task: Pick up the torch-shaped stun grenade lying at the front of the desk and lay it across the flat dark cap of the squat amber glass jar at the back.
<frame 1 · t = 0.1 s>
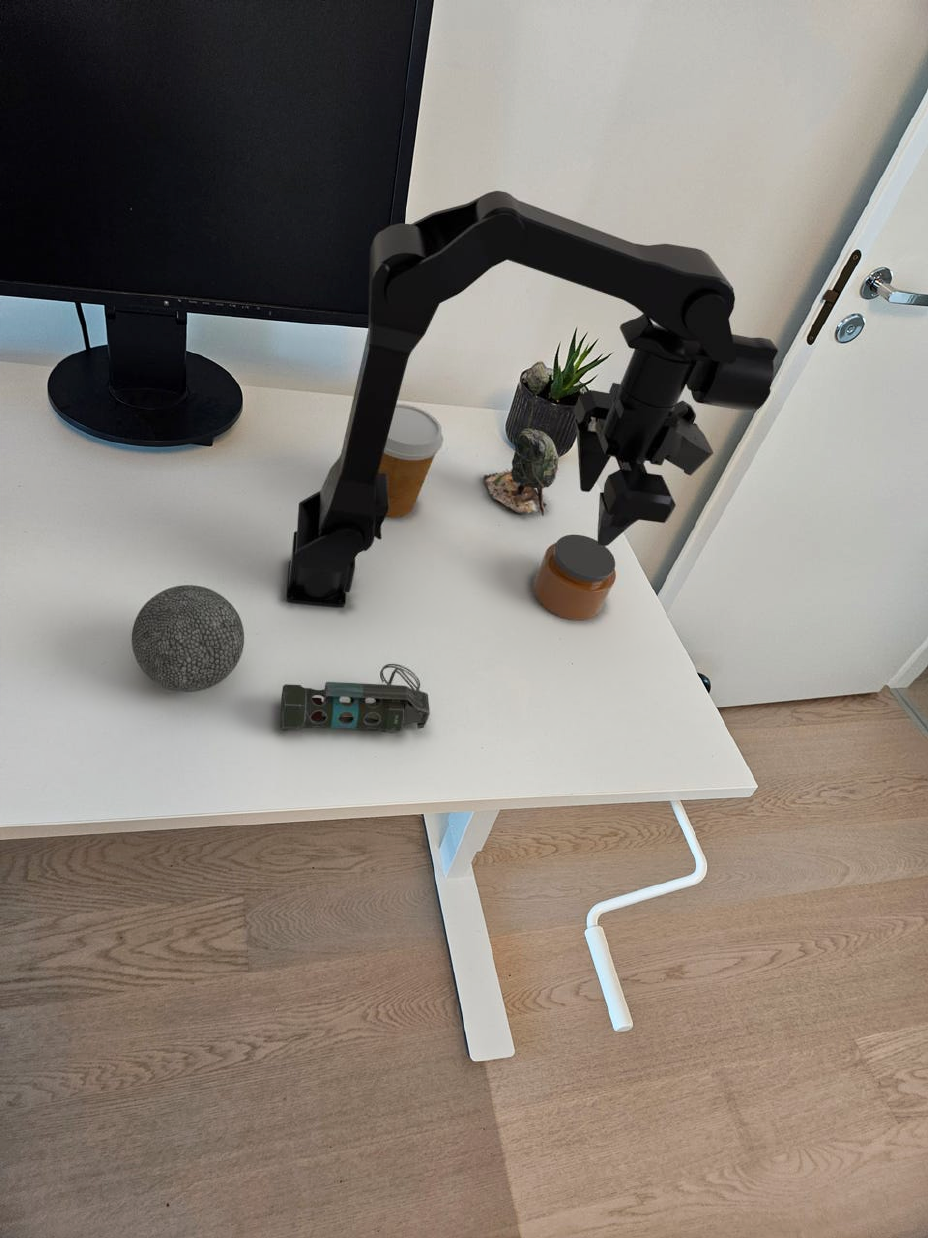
hand: (593, 516, 88), 15 cm above the table, tool pointing down, fingers open, 9 cm apart
disposable coffee cup: (389, 503, 106), on the table
stun grenade: (352, 716, 81), on the table
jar: (567, 594, 101), on the table
decorative ball: (189, 673, 80), on the table
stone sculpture: (516, 501, 113), on the table
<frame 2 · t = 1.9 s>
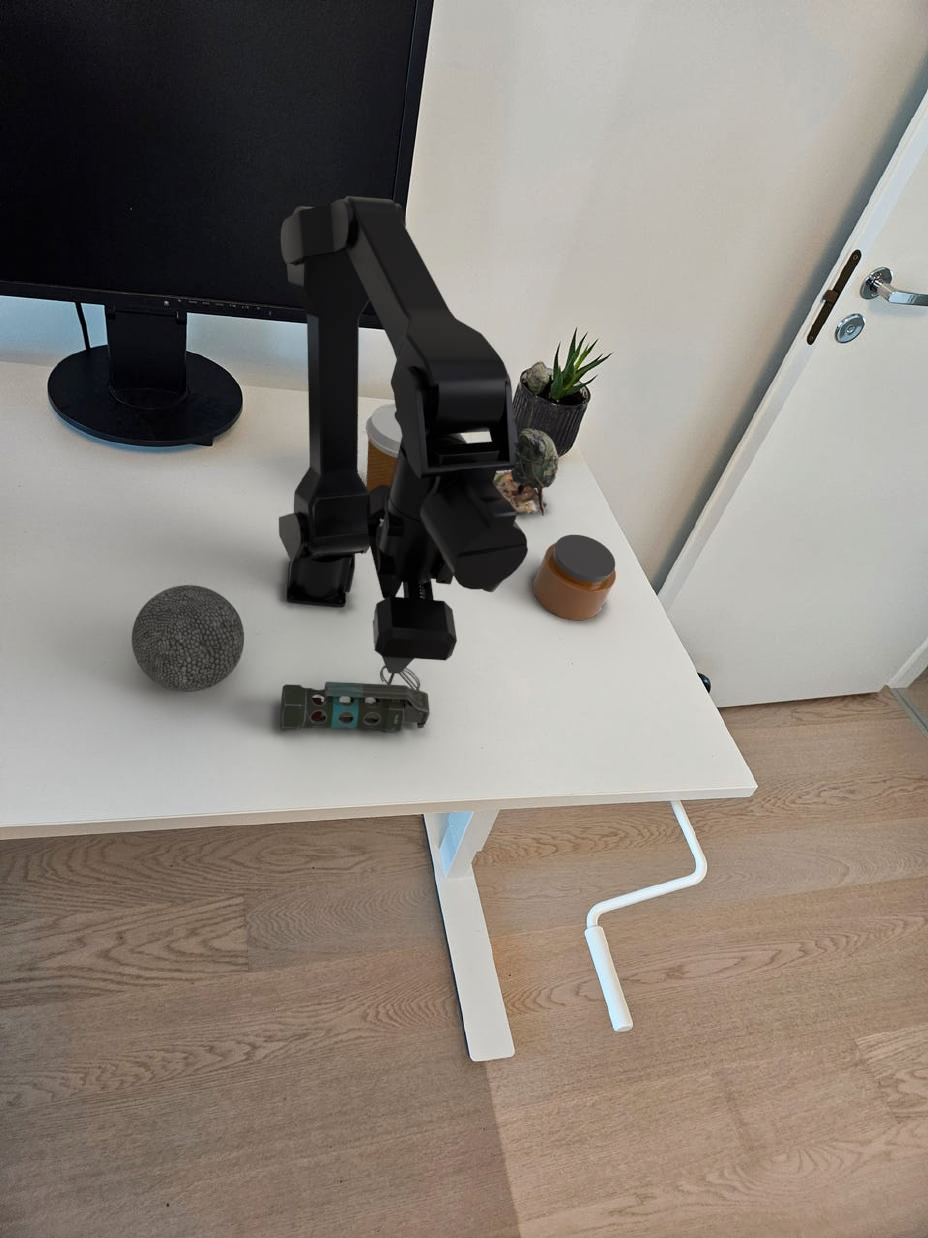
hand: (391, 633, 74), 11 cm above the table, tool pointing down, fingers open, 9 cm apart
nothing on the table moved.
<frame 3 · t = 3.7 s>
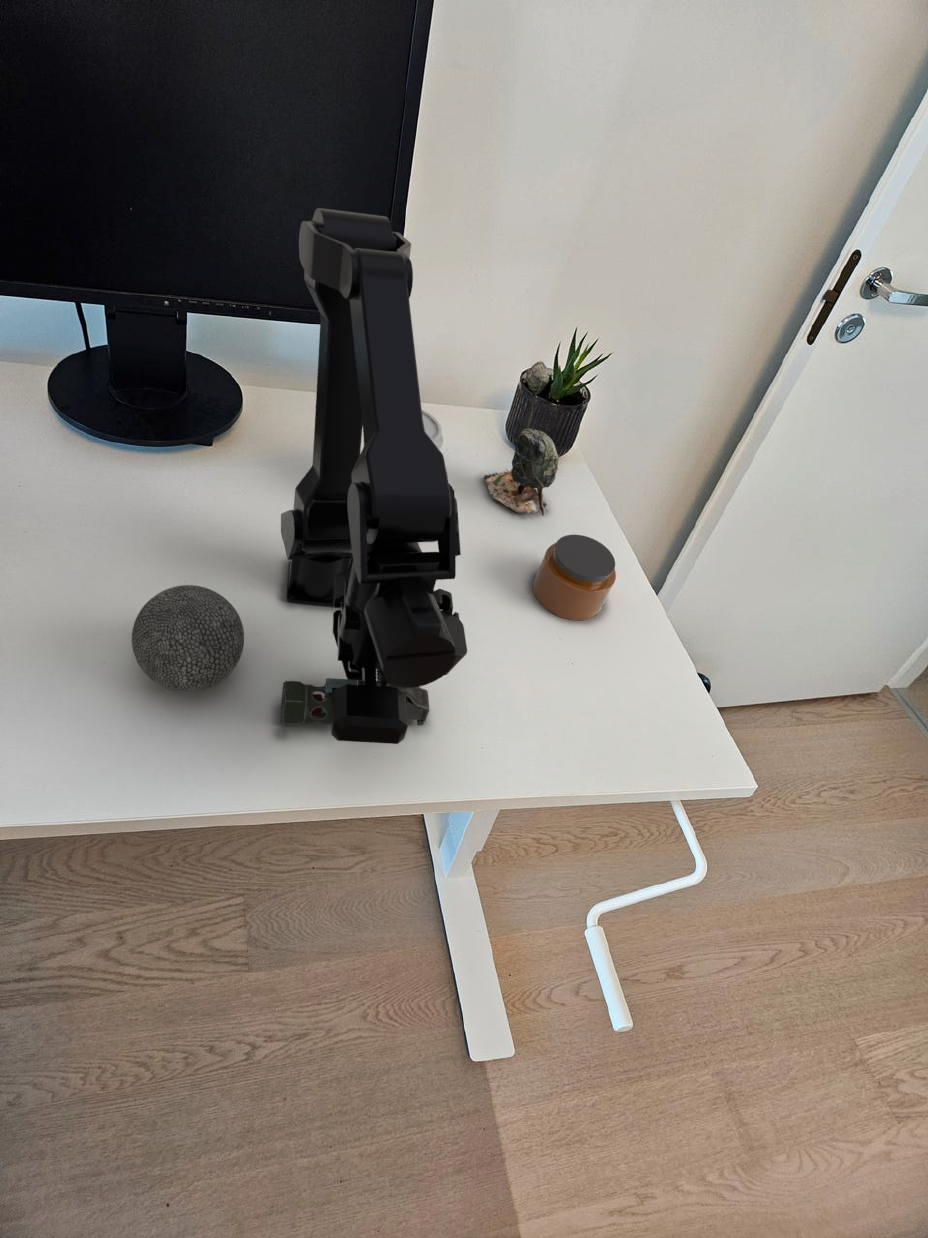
hand: (354, 707, 79), 2 cm above the table, tool pointing down, fingers closed on stun grenade, 5 cm apart
stun grenade: (352, 713, 81), on the table, touching gripper
everything else where it was.
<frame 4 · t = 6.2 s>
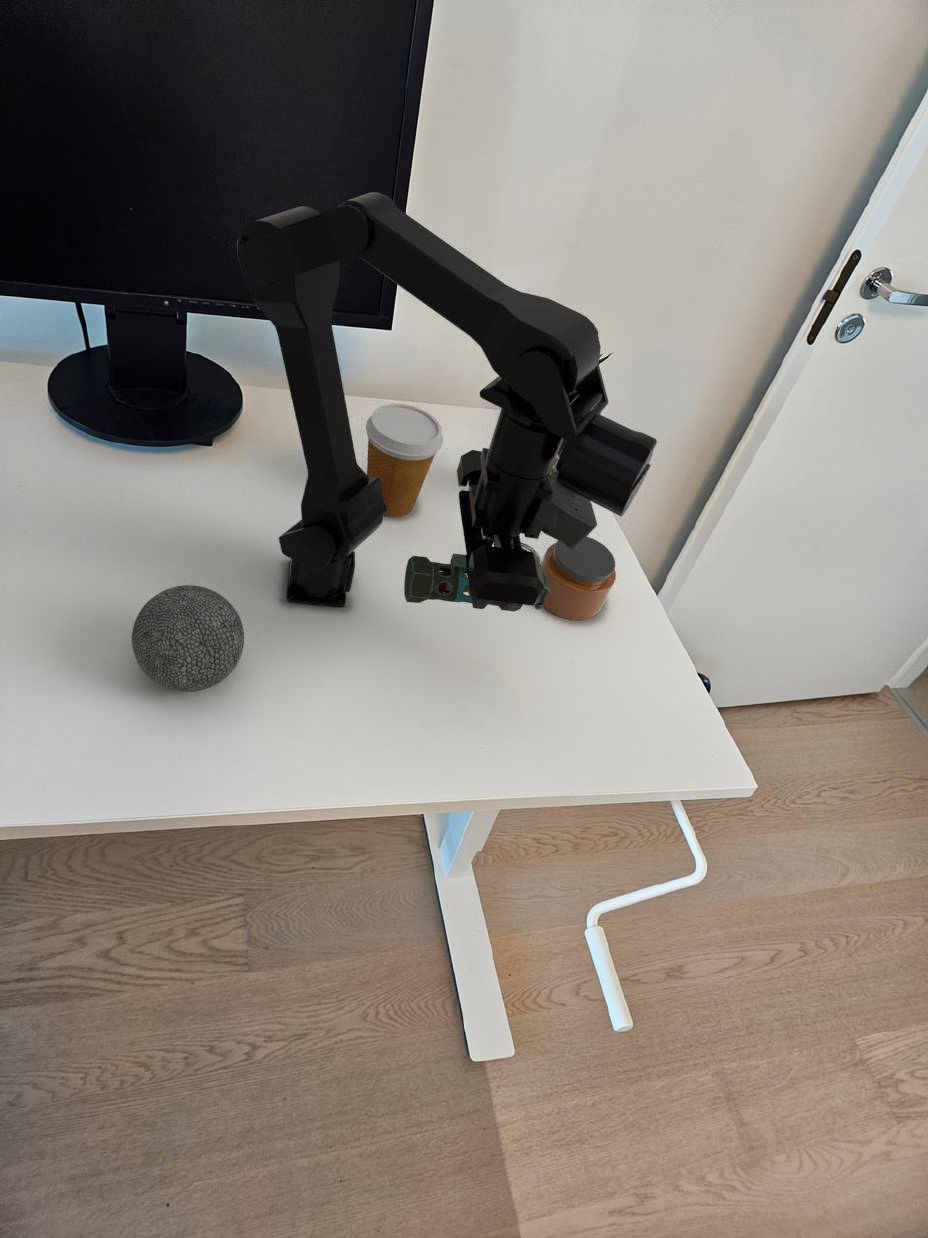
hand: (475, 587, 81), 11 cm above the table, tool pointing down, fingers closed on stun grenade, 5 cm apart
stun grenade: (471, 596, 82), point 10 cm above the table, touching gripper
everything else where it was.
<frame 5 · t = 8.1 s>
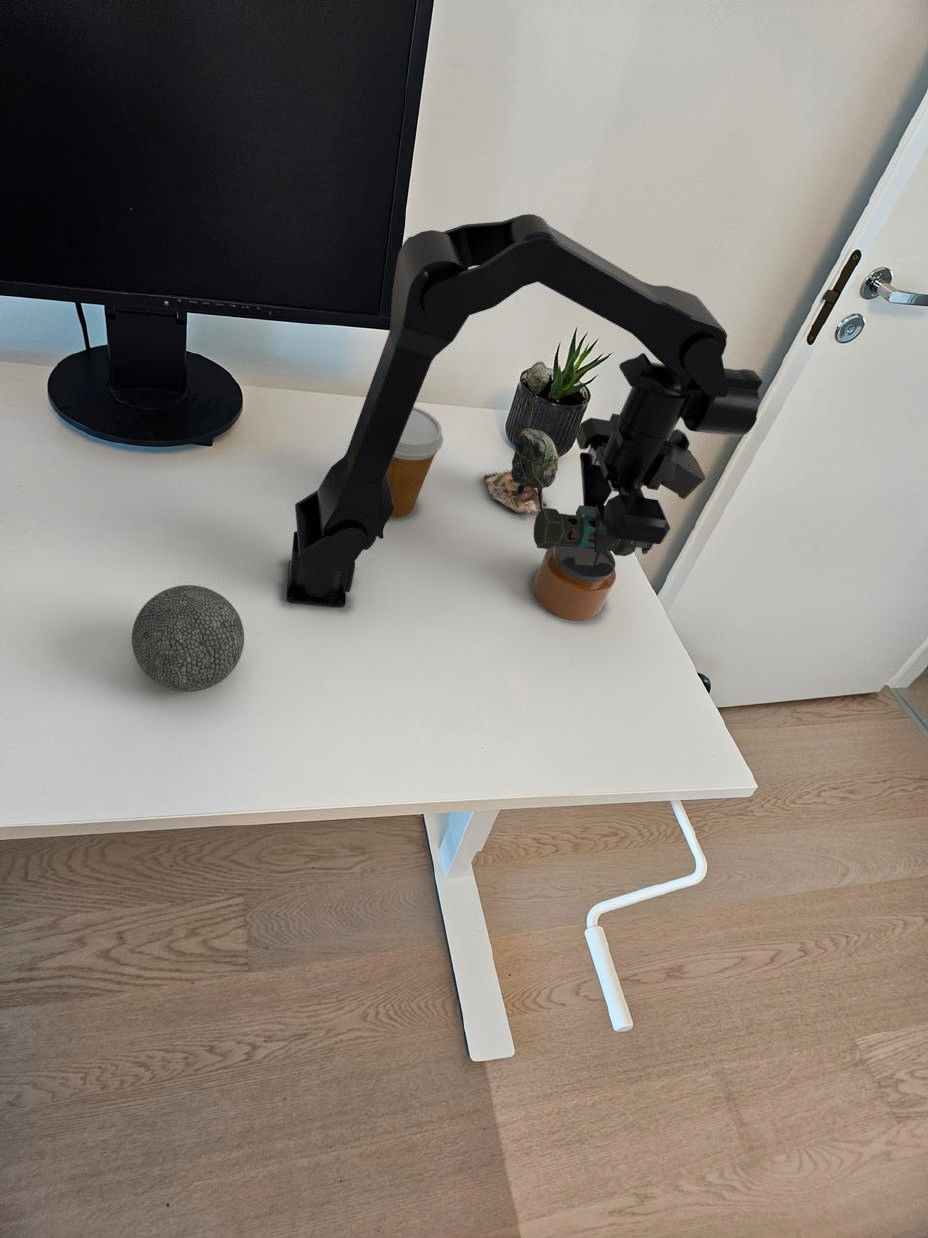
hand: (593, 535, 94), 10 cm above the table, tool pointing down, fingers closed on stun grenade, 5 cm apart
stun grenade: (587, 543, 96), point 8 cm above the table, touching gripper
everything else where it was.
when the fingers open (8 cm above the table, at t = 9.1 s): stun grenade stays where it is, resting on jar.
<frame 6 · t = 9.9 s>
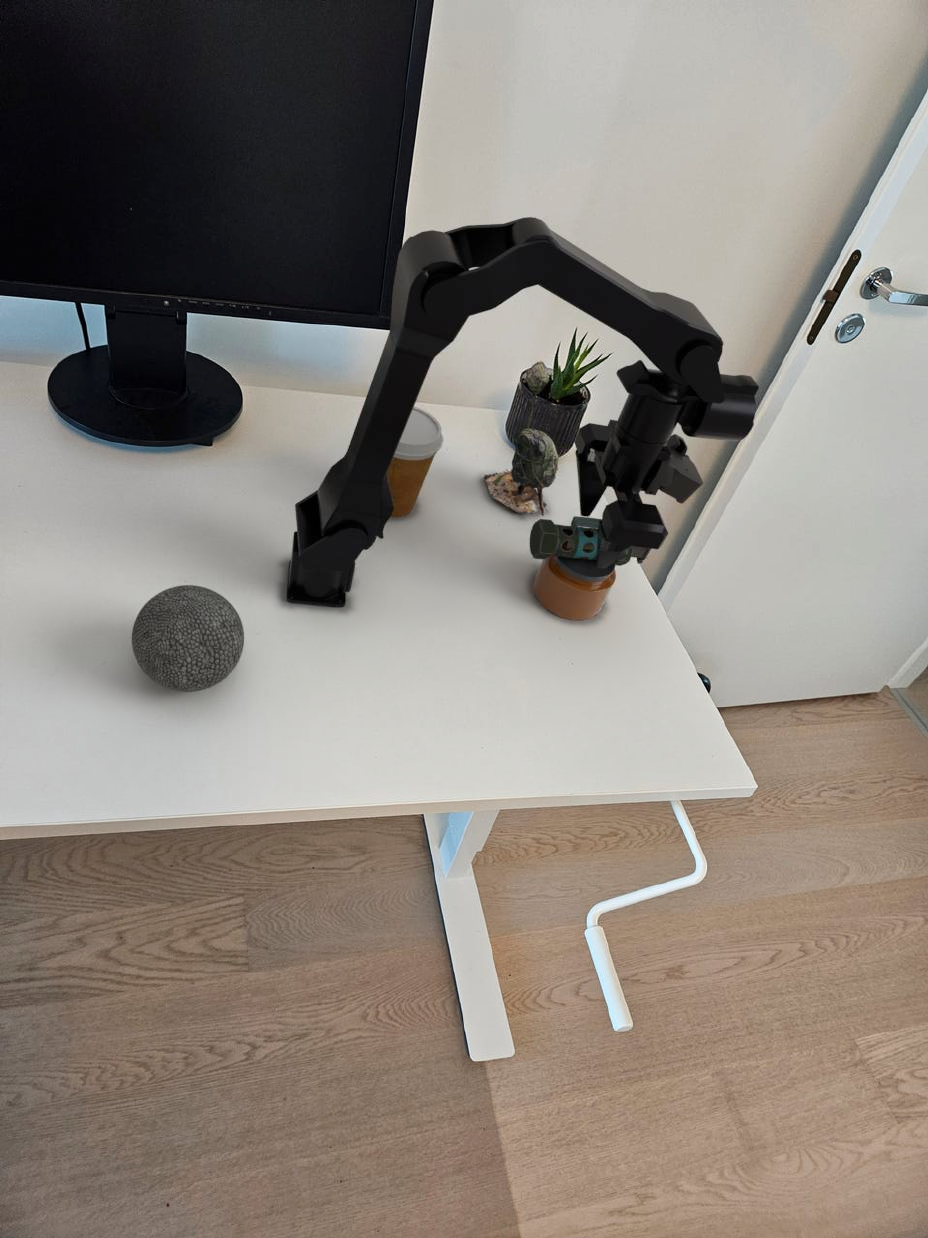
hand: (592, 540, 95), 9 cm above the table, tool pointing down, fingers open, 9 cm apart
stun grenade: (583, 553, 97), point 6 cm above the table, touching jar
everything else where it was.
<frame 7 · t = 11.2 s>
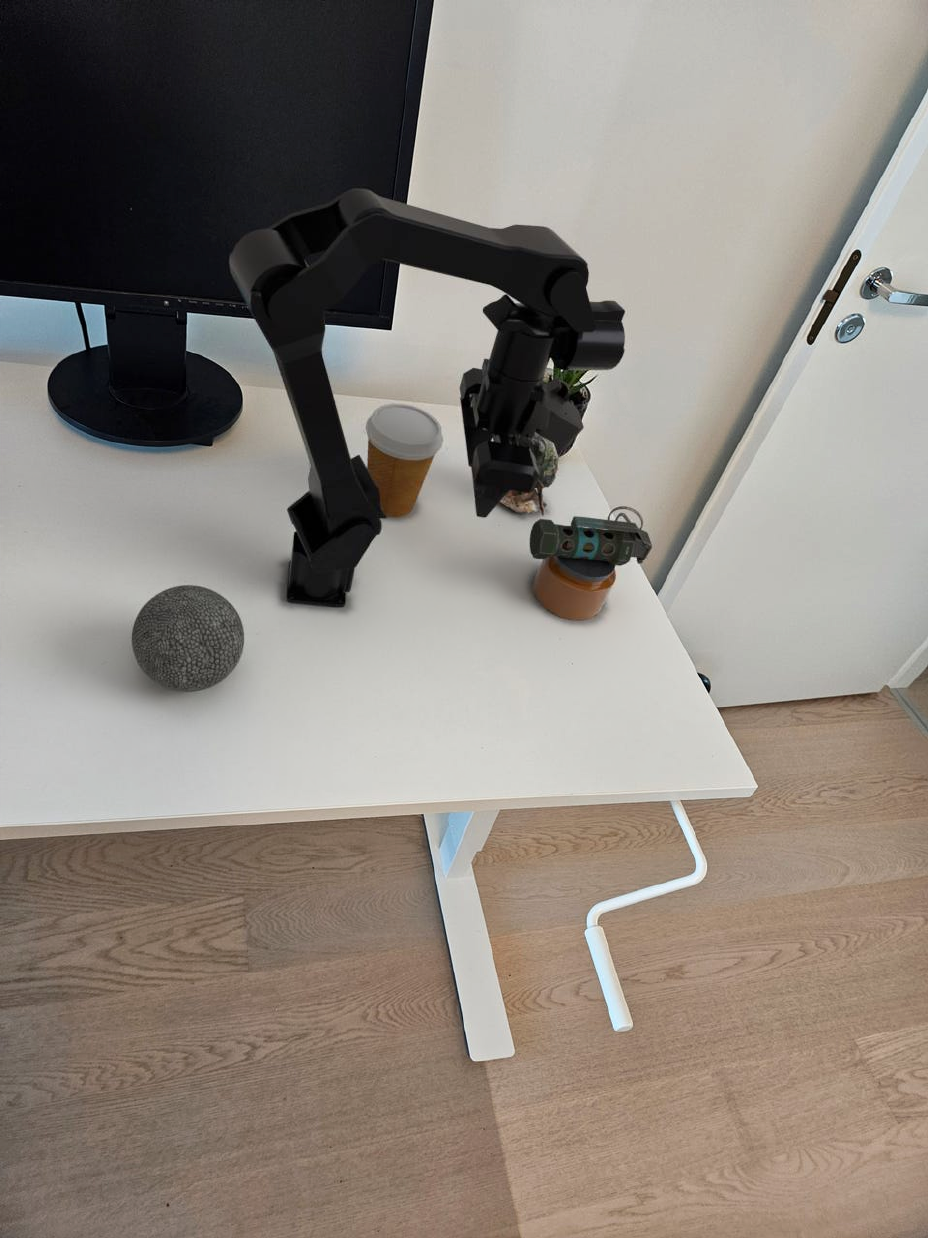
hand: (476, 490, 91), 12 cm above the table, tool pointing down, fingers open, 9 cm apart
nothing on the table moved.
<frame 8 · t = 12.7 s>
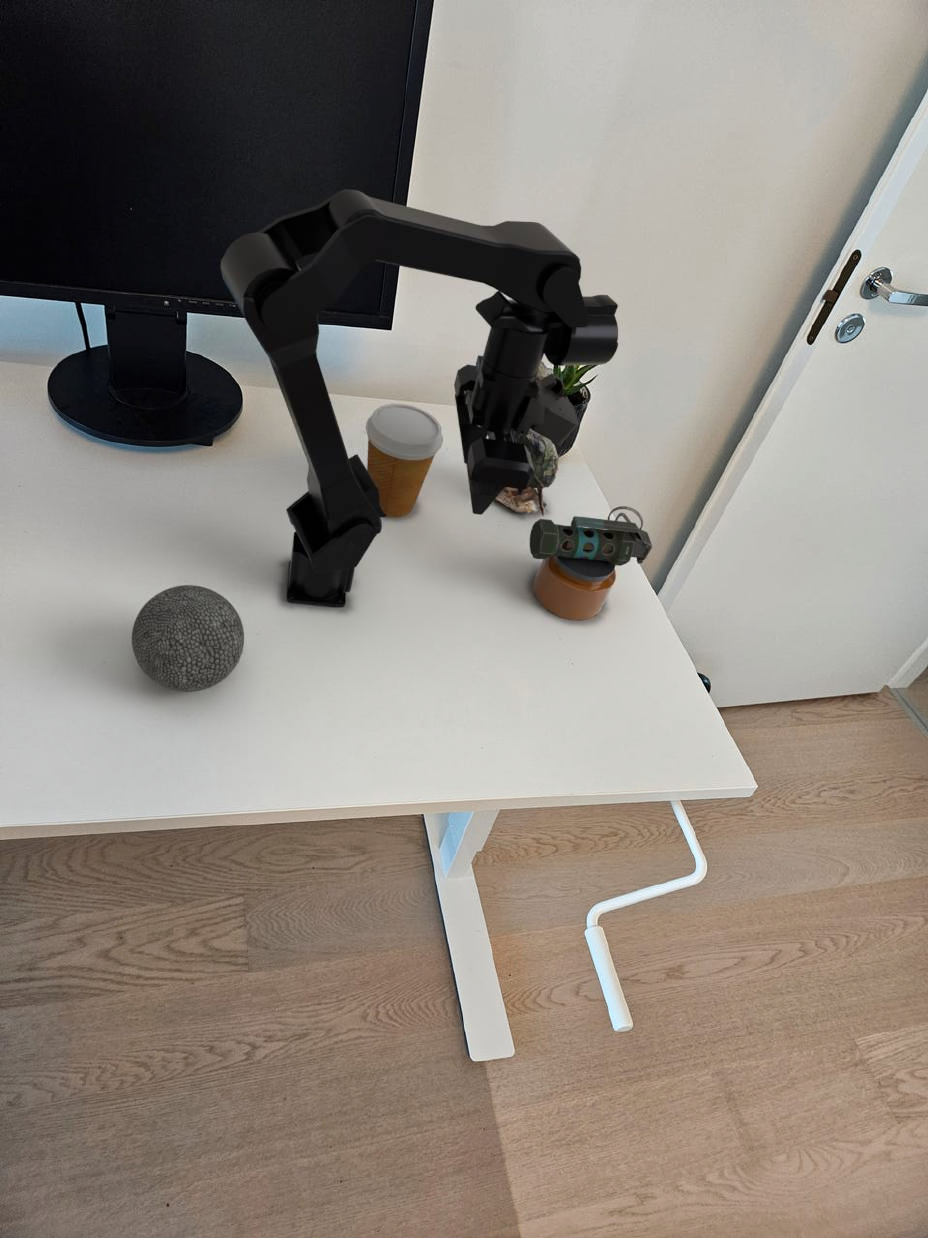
hand: (472, 487, 91), 12 cm above the table, tool pointing down, fingers open, 9 cm apart
nothing on the table moved.
at the end: stun grenade 0.5 cm off-centre on the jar, point 6.4 cm above the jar's base; stun grenade touching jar; the gripper is holding nothing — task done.
